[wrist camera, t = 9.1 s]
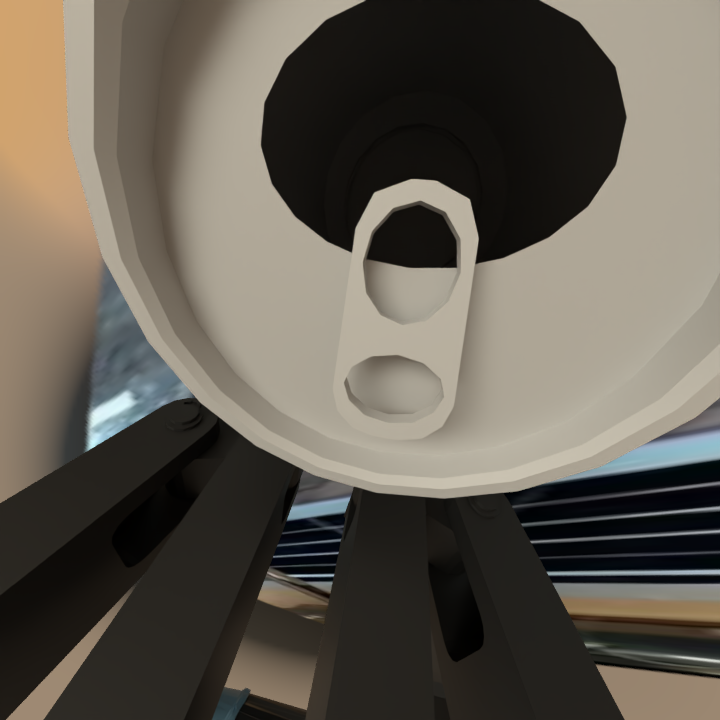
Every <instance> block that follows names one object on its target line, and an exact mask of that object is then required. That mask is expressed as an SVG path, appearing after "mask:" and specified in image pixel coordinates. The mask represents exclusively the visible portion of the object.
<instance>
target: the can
mask: <svg viewBox="0 0 720 720" xmlns="http://www.w3.org/2000/svg"><path fill="white" fill-rule="evenodd" d="M63 9H64V35H65V58H66V59H65V60H66V83H67V85H66V86H67V110H68V136H69V140H70V144H71V148H72V151H73V155H74V158H75V162H76V166H77V169H78V173H79V176H80V180H81V183H82V187H83V190H84V194H85V197H86V201H87V204H88V208H89V211H90V215H91V219H92V222H93V226H94V229H95V233H96V236H97V240H98V243H99V247H100V250H101V254H102V257H103V259H104V261H105V263H106V264H107V266H108V268H109V270H110V272H111V274H112V276H113V277H114V279H115V281H116V283H117V285H118V287H119V288H120V290H121V292H122V294H123V296H124V298H125V300H126V301H127V303H128V305H129V307H130V309H131V311H132V312H133V314H134V316H135V318H136V320H137V322H138V324H139V325H140V327H141V329H142V331H143V333H144V335H145V336H146V338H147V340H148V342H149V343H150V344H151V345H152V347H153V348H154V349H155V350H156V351H157V352H158V354H159V355H160V356H161V357H162V358H163V359H164V361H165V362H166V363H167V364H168V365H169V366H170V368H171V369H172V370H173V371H174V372H175V373H176V375H177V376H178V377H179V378H180V379H181V381H182V382H183V383H184V384H185V385H186V386H187V388H188V389H189V390H190V391H191V392H192V393H193V395H194V396H195V397H196V398H197V399H198V400H199V402H200V403H202V404H203V405H204V406H205V407H207V408H208V409H209V410H211V411H212V412H213V413H214V414H216V415H217V416H218V417H220V418H221V419H222V420H223V421H225V422H226V423H227V424H229V425H230V426H231V427H232V428H234V429H235V430H236V431H238V432H239V433H240V434H241V435H243V436H244V437H245V438H246V439H248V440H249V441H250V442H252V443H253V444H254V445H255V446H257V447H259V448H261V449H263V450H265V451H267V452H269V453H271V454H273V455H275V456H277V457H279V458H281V459H283V460H285V461H287V462H289V463H291V464H293V465H295V466H297V467H299V468H301V469H303V470H305V471H307V472H309V473H311V474H313V475H316V476H319V477H323V478H326V479H330V480H333V481H337V482H340V483H344V484H348V485H351V486H355V487H358V488H362V489H365V490H369V491H372V492H376V493H386V494H398V495H409V496H421V497H432V498H454V497H464V496H474V495H484V494H494V493H504V492H514V491H520V490H523V489H527V488H530V487H534V486H537V485H540V484H544V483H547V482H550V481H554V480H557V479H561V478H564V477H567V476H571V475H574V474H577V473H581V472H584V471H587V470H591V469H594V468H598V467H601V466H603V465H605V464H607V463H609V462H611V461H613V460H615V459H616V458H618V457H620V456H622V455H624V454H626V453H628V452H630V451H632V450H634V449H636V448H638V447H640V446H641V445H643V444H645V443H647V442H649V441H651V440H653V439H655V438H657V437H659V436H661V435H663V434H664V433H666V432H668V431H670V430H672V429H674V428H676V427H678V426H680V425H682V424H684V423H686V422H687V421H689V420H691V419H693V418H695V417H697V416H698V415H699V414H700V413H701V412H703V411H704V410H705V409H706V408H708V407H709V406H710V405H711V404H713V403H714V402H715V401H716V400H717V399H719V398H720V0H63Z"/></svg>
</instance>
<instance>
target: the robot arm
mask: <svg viewBox="0 0 720 720" xmlns="http://www.w3.org/2000/svg"><path fill="white" fill-rule="evenodd" d="M302 472H303V469H301V468H299V467H297V466H295V465H293V464H291V463H289V462H287V461H285V460H283V459H281V458H279V457H277V456H275V455H273V454H271V453H269V452H267V451H265V450H263V449H261V448H259V447H257V446H255V445H254V444H253V443H252V442H250V441H249V440H248V439H246V438H245V437H244V436H243V435H241V434H240V433H239V432H238V431H236V430H235V429H234V428H232V427H231V426H230V425H229V424H227V423H226V422H225V421H223V420H222V419H221V418H220V417H218V416H217V415H216V414H214V413H213V412H212V411H211V410H209V409H208V408H207V407H205V406H204V405H203V404H202V403H200V402H199V400H198V399H197V398H186V399H181V400H176V401H173V402H171V403H169V404H166V405H164V406H162V407H161V408H159V409H157V410H155V411H154V412H152V413H150V414H149V415H147V416H145V417H144V418H142V419H140V420H139V421H137V422H135V423H134V424H132V425H130V426H129V427H127V428H125V429H124V430H122V431H120V432H119V433H117V434H115V435H114V436H112V437H110V438H109V439H107V440H105V441H104V442H102V443H100V444H99V445H97V446H95V447H94V448H92V449H90V450H89V451H87V452H85V453H84V454H82V455H80V456H79V457H77V458H75V459H74V460H72V461H70V462H69V463H67V464H65V465H64V466H62V467H60V468H59V469H57V470H55V471H54V472H52V473H50V474H48V475H47V476H45V477H43V478H42V479H40V480H39V481H37V482H35V483H33V484H32V485H30V486H28V487H27V488H25V489H24V490H22V491H20V492H18V493H17V494H15V495H13V496H12V497H10V498H8V499H7V500H5V501H3V502H2V503H0V720H6V719H7V718H8V717H9V716H10V715H11V713H13V711H14V710H15V709H16V708H17V707H18V706H19V705H20V704H21V703H22V702H23V701H24V700H25V699H26V698H27V697H28V696H29V695H30V693H31V692H32V691H33V690H34V689H35V688H36V687H37V686H38V685H39V684H40V683H41V682H42V681H43V680H44V679H45V677H47V676H48V675H49V673H50V672H51V671H52V670H53V669H54V668H55V667H56V666H57V665H58V664H59V663H60V662H61V661H62V660H63V659H64V658H65V656H67V654H69V652H70V651H71V650H72V649H73V648H74V647H75V646H76V645H77V644H78V643H79V642H80V641H81V640H82V639H83V638H84V637H85V636H86V635H87V633H88V632H89V631H90V630H91V629H92V628H93V627H94V626H95V625H96V624H97V623H98V622H99V621H100V620H101V619H102V618H103V617H104V616H105V615H106V613H107V612H108V611H109V610H110V609H111V608H112V607H113V606H114V605H115V604H116V603H117V602H118V601H119V600H120V599H121V598H122V597H123V596H124V594H125V593H126V592H127V591H128V590H129V589H130V588H131V587H132V586H133V585H134V584H135V583H136V582H137V581H138V580H139V579H140V578H141V577H142V575H143V574H144V573H145V572H146V573H145V574H144V576H143V577H142V579H141V580H140V582H139V583H138V585H137V586H136V587H135V589H134V590H133V592H132V593H131V595H130V596H129V597H128V599H127V600H126V602H125V603H124V605H123V606H122V608H121V609H120V610H119V612H118V613H117V615H116V616H115V618H114V619H113V621H112V622H111V624H110V625H109V626H108V628H107V629H106V631H105V632H104V634H103V635H102V636H101V638H100V639H99V641H98V642H97V644H96V645H95V646H94V648H93V649H92V651H91V652H90V654H89V655H88V657H87V658H86V659H85V661H84V662H83V664H82V665H81V667H80V668H79V670H78V671H77V673H76V674H75V675H74V677H73V678H72V680H71V681H70V683H69V684H68V685H67V687H66V688H65V690H64V691H63V693H62V694H61V696H60V697H59V699H58V700H57V701H56V703H55V704H54V706H53V707H52V709H51V710H50V712H49V713H48V714H47V716H46V717H45V719H44V720H624V718H623V716H622V714H621V712H620V710H619V709H618V707H617V705H616V703H615V701H614V699H613V697H612V695H611V693H610V692H609V690H608V688H607V686H606V684H605V682H604V680H603V678H602V676H601V675H600V672H599V671H598V669H597V667H596V665H595V663H594V661H593V659H592V657H591V655H590V654H589V652H588V650H587V648H586V646H585V644H584V642H583V640H582V638H581V637H580V635H579V633H578V631H577V629H576V627H575V625H574V623H573V621H572V619H571V618H570V616H569V614H568V612H567V610H566V608H565V606H564V604H563V602H562V601H561V599H560V597H559V595H558V593H557V591H556V589H555V587H554V585H553V584H552V582H551V580H550V578H549V576H548V574H547V572H546V570H545V568H544V567H543V565H542V563H541V561H540V559H539V557H538V555H537V553H536V551H535V549H534V548H533V546H532V544H531V542H530V540H529V538H528V536H527V534H526V532H525V531H524V529H523V527H522V525H521V523H520V521H519V519H518V517H517V515H516V514H515V512H514V510H513V508H512V506H511V504H510V502H509V501H508V499H507V498H506V496H505V495H504V494H503V493H494V494H484V495H474V496H464V497H454V498H432V497H421V496H409V495H398V494H386V493H376V492H372V491H369V490H365V489H362V488H358V487H355V486H354V488H353V492H352V495H351V498H350V501H349V504H348V506H347V509H346V512H345V515H344V517H346V519H345V524H344V529H343V534H342V539H341V544H340V549H339V554H338V559H337V564H336V569H335V574H334V579H333V584H332V589H331V594H330V599H329V604H328V609H327V614H326V619H325V624H324V629H323V634H322V638H321V644H320V648H319V653H318V658H317V663H316V668H315V673H314V678H313V683H312V689H311V694H310V698H309V703H308V708H307V710H304V709H300V708H297V707H294V706H291V705H287V704H284V703H280V702H277V701H274V700H270V699H267V698H263V697H260V696H257V695H253V694H250V689H248V688H245V689H244V690H242V691H240V690H236V689H231V688H226V687H224V686H225V683H226V681H227V678H228V675H229V673H230V670H231V667H232V665H233V662H234V659H235V657H236V654H237V651H238V649H239V646H240V643H241V641H242V638H243V635H244V633H245V630H246V627H247V625H248V622H249V619H250V617H251V614H252V611H253V609H254V606H255V603H256V601H257V598H258V595H259V593H260V590H261V587H262V585H263V582H264V579H265V577H266V574H267V571H268V569H269V566H270V563H271V561H272V558H273V555H274V553H275V550H276V547H277V545H278V542H279V539H280V537H281V534H282V531H283V529H284V526H285V523H286V521H287V518H288V515H289V513H290V510H291V507H292V505H293V502H294V499H295V497H296V494H297V491H298V488H299V483H300V477H301V475H302Z"/></svg>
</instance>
